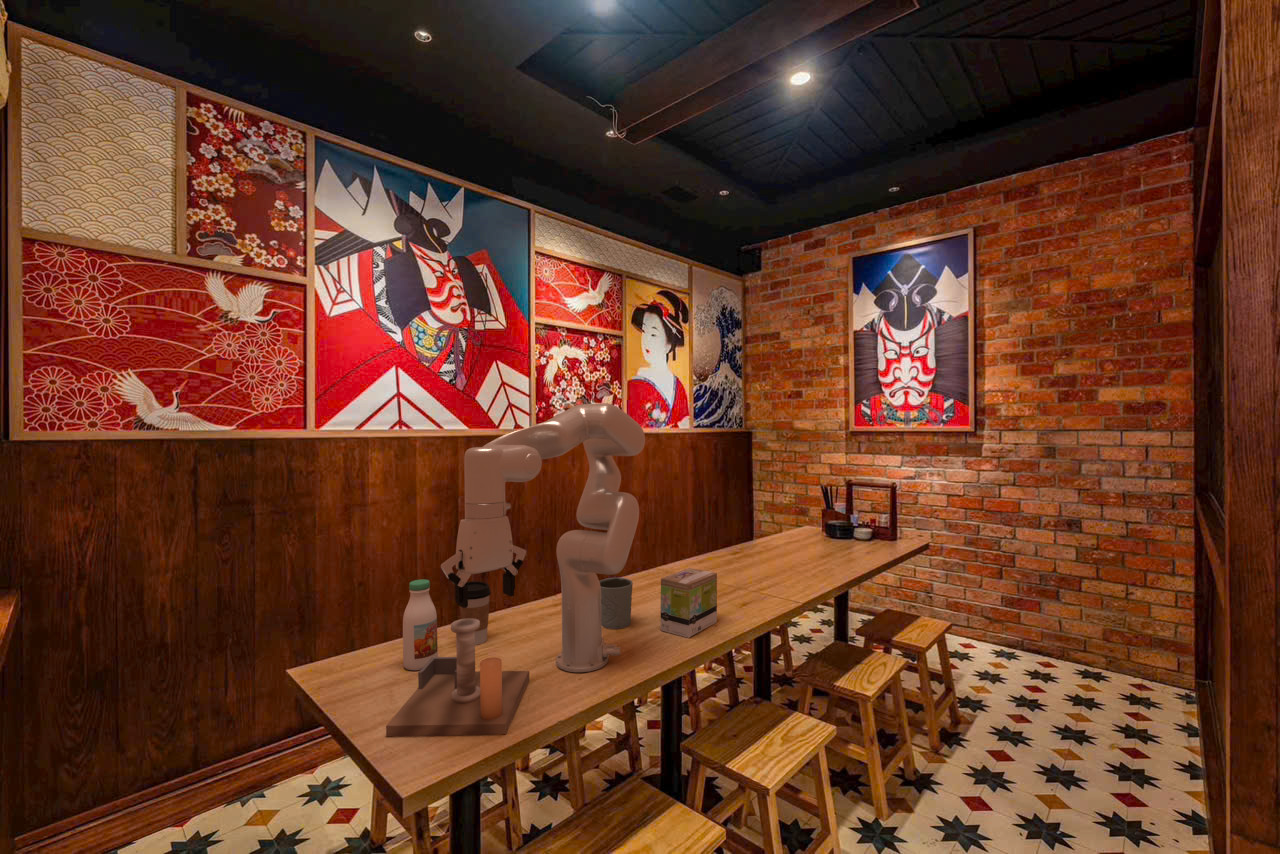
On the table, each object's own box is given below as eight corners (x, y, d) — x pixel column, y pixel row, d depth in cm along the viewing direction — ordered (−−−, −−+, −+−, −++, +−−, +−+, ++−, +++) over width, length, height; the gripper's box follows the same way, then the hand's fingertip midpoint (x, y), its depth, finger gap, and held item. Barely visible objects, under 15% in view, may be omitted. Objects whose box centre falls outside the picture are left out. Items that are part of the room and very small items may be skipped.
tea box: (690, 639, 145) (689, 583, 145) (659, 631, 151) (658, 577, 151) (718, 622, 157) (717, 571, 157) (688, 615, 163) (687, 566, 163)
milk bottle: (400, 673, 127) (399, 587, 127) (405, 659, 134) (404, 578, 134) (436, 668, 129) (435, 584, 129) (439, 655, 136) (437, 575, 136)
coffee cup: (479, 632, 152) (478, 578, 152) (498, 639, 146) (497, 583, 146) (452, 642, 145) (451, 585, 145) (470, 650, 140) (469, 591, 140)
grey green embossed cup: (635, 618, 161) (634, 577, 161) (631, 631, 151) (630, 587, 151) (601, 617, 162) (600, 577, 162) (595, 630, 152) (594, 587, 152)
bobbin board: (529, 679, 123) (528, 604, 123) (505, 734, 101) (504, 642, 101) (431, 681, 123) (430, 605, 123) (386, 736, 101) (385, 644, 101)
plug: (504, 708, 106) (503, 657, 106) (499, 719, 102) (498, 666, 102) (484, 708, 106) (483, 657, 106) (478, 720, 102) (477, 666, 102)
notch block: (469, 672, 122) (469, 656, 122) (458, 688, 115) (458, 671, 115) (432, 672, 122) (431, 657, 122) (418, 689, 115) (418, 672, 115)
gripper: (514, 504, 114) (515, 587, 114) (432, 514, 102) (433, 606, 102) (534, 508, 108) (535, 594, 108) (450, 518, 96) (451, 616, 96)
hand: (486, 600), depth 105 cm, fingers open, 9 cm apart
